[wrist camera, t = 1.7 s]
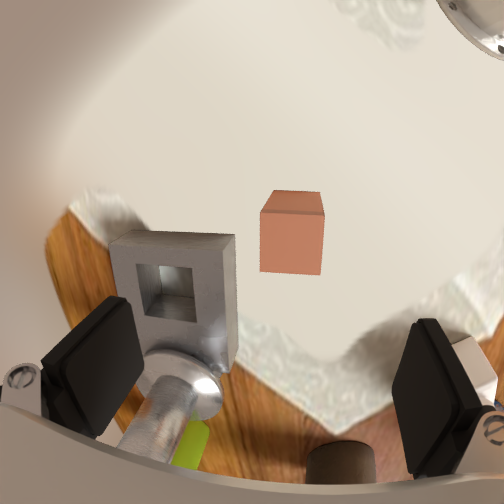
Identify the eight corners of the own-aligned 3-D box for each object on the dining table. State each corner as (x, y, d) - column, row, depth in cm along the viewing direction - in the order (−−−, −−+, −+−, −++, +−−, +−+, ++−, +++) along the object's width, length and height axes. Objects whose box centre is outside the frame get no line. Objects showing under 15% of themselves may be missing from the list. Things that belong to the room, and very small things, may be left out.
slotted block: (131, 230, 28) (-63, 373, 8) (235, 234, 26) (71, 473, 6) (159, 377, 34) (74, 526, 14) (240, 391, 33) (183, 571, 13)
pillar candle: (309, 440, 35) (298, 541, 21) (381, 438, 33) (388, 536, 19) (305, 472, 38) (294, 555, 24) (367, 470, 36) (368, 552, 23)
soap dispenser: (204, 446, 39) (162, 559, 20) (163, 423, 38) (108, 535, 20) (224, 432, 36) (181, 560, 18) (179, 407, 36) (118, 535, 18)
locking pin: (273, 190, 24) (260, 212, 17) (319, 192, 24) (324, 215, 17) (273, 233, 26) (259, 271, 19) (317, 235, 25) (320, 275, 18)
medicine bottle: (414, 357, 28) (443, 449, 17) (472, 334, 26) (518, 414, 15) (419, 398, 30) (439, 481, 18) (472, 377, 27) (504, 453, 16)
